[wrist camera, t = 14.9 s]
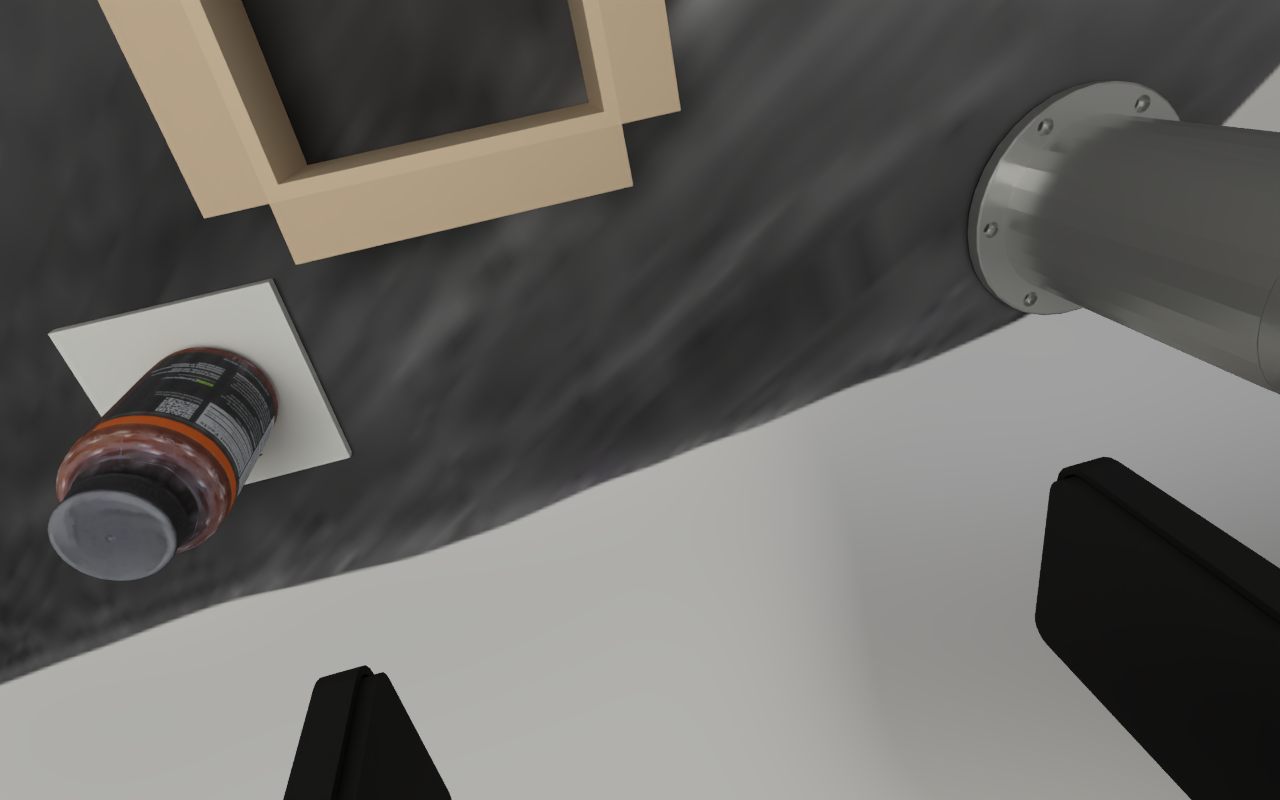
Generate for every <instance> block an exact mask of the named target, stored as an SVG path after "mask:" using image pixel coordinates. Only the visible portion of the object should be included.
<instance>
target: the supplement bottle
mask: <svg viewBox="0 0 1280 800" xmlns="http://www.w3.org/2000/svg"><path fill="white" fill-rule="evenodd" d="M277 415H278V401H277V397H276V394H275V391H274V389H273V387H272V385H271V383H270V381H269V380H268V378H267V377H266V376H265V375H264V374H263V372H262V371H261V370H260V369H259V368H257V367H256V366H255V365H254V364H252V363H251V362H250V361H248V360H246V359H244V358H242V357H240V356H239V355H237V354H234V353H231V352H229V351H225V350H221V349H216V348H208V347H201V348H199V347H195V348H188V349H184V350H180V351H177V352H174V353H172V354H170V355H168V356H166V357H165V358H163V359H162V360H160V361H159V362H158V363H157V364H156V365H154V366H153V367H152V368H151V369H150V370H149V371H147V373H146V374H144V375H143V377H142V378H140V379H139V380H138V381H137V382H136V383H135V384H134V385H133V386H132V387H131V388H130V390H129V391H127V392H126V393H125V394H124V395H123V396H122V397H121V398H120V399H119V400H118V401H117V402H116V403H115V404H114V405H113V406H112V407H111V408H110V409H109V410H108V411H107V412H106V413H105V414H104V415H103V416H102V417H101V418H100V419H99V420H98V421H97V422H96V423H95V424H94V425H93V426H92V427H91V428H90V429H89V430H88V431H87V432H86V433H85V434H84V435H83V436H82V437H81V438H80V439H79V440H78V441H77V442H76V443H75V445H74V446H73V447H72V448H71V449H70V450H69V452H68V453H67V454H66V456H65V458H64V459H63V461H62V463H61V465H60V467H59V470H58V475H57V480H56V493H57V498H58V502H59V505H58V506H57V507H56V508H55V509H54V511H53V512H52V515H51V516H50V520H49V523H48V535H49V540H50V542H51V544H52V546H53V547H54V549H55V551H56V552H57V554H58V555H60V556H61V558H62V559H63V560H64V561H65V562H67V563H68V564H69V565H71V566H72V567H73V568H76V569H77V570H79V571H80V572H83V573H85V574H88V575H91V576H94V577H97V578H101V579H108V580H119V581H122V580H133V579H139V578H143V577H146V576H149V575H152V574H153V573H155V572H157V571H159V570H160V569H161V568H163V567H164V566H165V565H166V564H167V563H168V562H169V561H170V560H171V559H172V557H173V555H174V554H175V553H179V552H183V551H185V550H189V549H191V548H194V547H196V546H197V545H199V544H201V543H203V542H204V541H205V540H207V539H208V538H209V537H210V536H212V534H214V533H215V531H216V530H217V529H218V528H219V526H220V525H221V524H222V522H223V521H224V520H225V518H226V516H227V514H228V513H229V511H230V509H231V507H232V505H233V503H234V502H235V500H236V498H237V497H238V495H239V493H240V491H241V489H242V487H243V486H244V484H245V482H246V480H247V478H248V477H249V474H250V472H251V470H252V468H253V467H254V465H255V463H256V461H257V459H258V457H259V456H261V455H263V454H260V453H261V451H262V450H263V448H264V446H265V444H266V442H267V440H268V438H269V436H270V434H271V432H272V429H273V427H274V425H275V422H276V419H277Z"/></svg>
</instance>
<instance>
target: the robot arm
mask: <svg viewBox="0 0 1280 800" xmlns="http://www.w3.org/2000/svg"><path fill="white" fill-rule="evenodd" d="M968 245H969V255H970V258H971V261H972V264H973V267H974V270H975V273H976V274H977V276H978V278H979V279H980V281H981V283H982V284H983V286H984V287H985V288H986V289H987V290H988V291H989V292H990V293H991V294H992V295H993V296H994V297H995V298H997V299H999V300H1000V301H1002V302H1004V303H1006V304H1007V305H1009V306H1011V307H1013V308H1016V309H1018V310H1020V311H1023V312H1026V313H1033V314H1040V315H1050V314H1062V313H1065V312H1069V311H1073V310H1077V309H1080V308H1082V307H1083V308H1086V309H1088V310H1090V311H1093V312H1095V313H1097V314H1099V315H1101V316H1104V317H1106V318H1108V319H1111V320H1113V321H1115V322H1117V323H1120V324H1122V325H1124V326H1127V327H1128V328H1131V329H1133V330H1135V331H1137V332H1140V333H1142V334H1144V335H1146V336H1149V337H1151V338H1153V339H1155V340H1158V341H1160V342H1162V343H1165V344H1167V345H1169V346H1171V347H1173V348H1176V349H1178V350H1180V351H1182V352H1185V353H1187V354H1189V355H1192V356H1194V357H1196V358H1198V359H1201V360H1203V361H1205V362H1207V363H1209V364H1212V365H1214V366H1216V367H1219V368H1221V369H1223V370H1225V371H1227V372H1230V373H1232V374H1234V375H1236V376H1239V377H1241V378H1243V379H1245V380H1248V381H1250V382H1252V383H1255V384H1257V385H1259V386H1261V387H1264V388H1266V389H1268V390H1271V391H1273V392H1276V393H1278V394H1280V132H1272V131H1262V130H1253V129H1244V128H1236V127H1227V126H1218V125H1209V124H1200V123H1191V122H1182V121H1180V119H1179V116H1178V115H1177V113H1176V112H1175V111H1174V109H1173V108H1172V106H1171V105H1170V103H1169V102H1168V101H1167V100H1166V99H1165V98H1163V97H1162V96H1161V95H1160V94H1158V93H1157V92H1156V91H1155V90H1153V89H1150V88H1148V87H1145V86H1143V85H1141V84H1138V83H1132V82H1123V81H1093V82H1088V83H1084V84H1080V85H1076V86H1073V87H1071V88H1068V89H1066V90H1064V91H1062V92H1059V93H1057V94H1055V95H1053V96H1051V97H1050V98H1048V99H1047V100H1046V101H1044V102H1043V103H1041V104H1040V105H1038V106H1037V107H1035V108H1034V109H1032V110H1031V111H1030V112H1029V113H1028V114H1027V115H1026V116H1025V117H1024V118H1023V119H1021V120H1020V121H1019V122H1018V123H1017V124H1016V125H1015V126H1014V127H1013V128H1012V129H1011V131H1010V132H1009V133H1008V134H1007V136H1006V137H1005V138H1004V139H1003V140H1002V142H1001V143H1000V144H999V145H998V147H997V148H996V150H995V152H994V153H993V155H992V157H991V158H990V160H989V162H988V163H987V165H986V167H985V168H984V171H983V173H982V175H981V178H980V180H979V183H978V185H977V187H976V190H975V193H974V197H973V201H972V205H971V209H970V213H969V223H968ZM1035 622H1036V626H1037V629H1038V631H1039V633H1040V635H1041V637H1042V639H1043V640H1044V641H1045V642H1046V644H1047V645H1048V646H1049V647H1050V648H1051V649H1052V650H1053V651H1054V653H1055V654H1056V655H1057V656H1058V657H1059V658H1060V659H1061V660H1062V661H1063V662H1064V663H1065V664H1066V665H1067V666H1068V667H1069V669H1070V670H1071V671H1072V672H1073V673H1074V674H1075V675H1076V676H1077V677H1078V678H1079V679H1080V680H1081V682H1082V683H1083V684H1084V685H1085V686H1086V687H1087V688H1088V689H1089V690H1090V691H1091V692H1092V693H1093V694H1094V695H1095V696H1096V698H1097V699H1098V700H1099V701H1100V702H1101V703H1102V704H1103V705H1104V706H1105V707H1106V708H1107V709H1108V711H1109V712H1110V713H1111V714H1112V715H1113V716H1114V717H1115V718H1116V719H1117V720H1118V721H1119V722H1120V723H1121V725H1122V726H1123V727H1124V728H1125V729H1126V730H1127V731H1128V732H1129V733H1130V734H1131V735H1132V736H1133V737H1134V738H1135V740H1136V741H1137V742H1138V743H1139V744H1140V745H1141V746H1142V747H1143V748H1144V749H1145V750H1146V751H1147V753H1148V754H1149V755H1150V756H1151V757H1152V758H1153V759H1154V760H1155V761H1156V762H1157V763H1158V764H1159V765H1160V766H1161V767H1162V769H1163V770H1164V771H1165V772H1166V773H1167V774H1168V775H1169V776H1170V777H1171V778H1172V779H1173V780H1174V782H1175V783H1177V785H1178V786H1179V787H1180V788H1181V789H1182V790H1183V791H1184V792H1185V793H1186V794H1187V795H1188V797H1189V798H1190V799H1191V800H1280V568H1278V567H1277V566H1275V565H1274V564H1272V563H1271V562H1269V561H1268V560H1266V559H1265V558H1263V557H1262V556H1260V555H1258V554H1257V553H1256V552H1254V551H1253V550H1251V549H1250V548H1248V547H1246V546H1245V545H1244V544H1242V543H1241V542H1239V541H1238V540H1236V539H1234V538H1233V537H1231V536H1230V535H1228V534H1227V533H1225V532H1224V531H1222V530H1221V529H1219V528H1218V527H1216V526H1215V525H1213V524H1212V523H1210V522H1209V521H1207V520H1206V519H1204V518H1203V517H1201V516H1200V515H1198V514H1196V513H1195V512H1194V511H1192V510H1191V509H1189V508H1188V507H1186V506H1185V505H1183V504H1182V503H1180V502H1179V501H1177V500H1176V499H1174V498H1172V497H1171V496H1170V495H1168V494H1167V493H1165V492H1164V491H1162V490H1161V489H1159V488H1158V487H1156V486H1155V485H1153V484H1152V483H1150V482H1149V481H1147V480H1145V479H1144V478H1142V477H1141V476H1139V475H1138V474H1136V473H1135V472H1133V471H1132V470H1130V469H1129V468H1127V467H1126V466H1124V465H1123V464H1121V463H1120V462H1118V461H1116V460H1114V459H1112V458H1109V457H1102V458H1098V459H1094V460H1091V461H1087V462H1083V463H1080V464H1076V465H1073V466H1069V467H1066V468H1063V469H1062V471H1061V472H1060V473H1059V475H1058V479H1057V481H1056V482H1054V483H1053V484H1052V485H1051V488H1050V494H1049V502H1048V511H1047V519H1046V528H1045V536H1044V545H1043V554H1042V561H1041V570H1040V579H1039V587H1038V595H1037V603H1036V613H1035ZM283 800H451V796H450V794H449V791H448V789H447V788H446V786H445V784H444V782H443V780H442V778H441V776H440V774H439V772H438V771H437V769H436V767H435V765H434V763H433V761H432V759H431V757H430V755H429V754H428V751H427V750H426V748H425V746H424V744H423V742H422V740H421V738H420V736H419V734H418V732H417V731H416V729H415V727H414V725H413V723H412V721H411V719H410V717H409V715H408V714H407V712H406V710H405V708H404V706H403V704H402V702H401V700H400V699H399V696H398V695H397V693H396V691H395V689H394V687H393V685H392V683H391V681H390V679H389V678H388V676H387V675H386V674H385V673H383V672H382V673H378V674H375V675H374V674H373V672H372V671H371V669H370V668H369V667H367V666H366V665H365V666H361V667H357V668H354V669H350V670H346V671H343V672H339V673H336V674H332V675H329V676H325V677H322V678H320V679H319V680H318V681H317V682H316V684H315V686H314V689H313V692H312V696H311V700H310V703H309V707H308V711H307V714H306V718H305V722H304V726H303V729H302V733H301V736H300V740H299V744H298V747H297V751H296V755H295V759H294V762H293V766H292V769H291V773H290V777H289V781H288V785H287V788H286V792H285V795H284V799H283Z"/></svg>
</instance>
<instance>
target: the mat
mask: <svg viewBox="0 0 1280 800" xmlns="http://www.w3.org/2000/svg"><path fill="white" fill-rule="evenodd" d="M48 335H49V337H50V338H51V340H52V341H53V343H54V344H55V346H56V347H57V349H58V351H59V352H60V354H61V355H62V357H63V358H64V360H65V361H66V363H67V364H68V366H69V368H70V369H71V371H72V372H73V374H74V375H75V377H76V378H77V380H78V381H79V383H80V385H81V386H82V388H83V389H84V391H85V392H86V394H87V395H88V397H89V398H90V400H91V402H92V403H93V405H94V406H95V408H96V409H97V411H98V412H99V414H100V415H101V417H102V416H103V415H104V414H105V413H106V412H107V411H108V410H109V409H110V408H111V407H112V406H113V405H114V404H115V403H116V402H117V401H118V400H119V399H120V398H121V397H122V396H123V395H124V394H125V393H126V392H127V391H129V390H130V388H131V387H132V386H133V385H134V384H135V383H136V382H137V381H138V380H139V379H140V378H142V377H143V375H144V374H146V373H147V371H149V370H150V369H151V368H152V367H153V366H154V365H156V364H157V363H158V362H159V361H160V360H162V359H163V358H165V357H166V356H168V355H170V354H172V353H174V352H177V351H180V350H184V349H188V348H195V347H199V348H201V347H208V348H216V349H221V350H225V351H229V352H231V353H234V354H237V355H239V356H240V357H242V358H244V359H246V360H248V361H250V362H251V363H252V364H254V365H255V366H256V367H257V368H259V369H260V370H261V371H262V372H263V374H264V375H265V376H266V377H267V378H268V380H269V381H270V383H271V385H272V387H273V389H274V391H275V394H276V397H277V401H278V415H277V419H276V422H275V425H274V427H273V429H272V432H271V434H270V436H269V438H268V440H267V442H266V444H265V446H264V448H263V450H262V451H261V453H260V454H263V455H261V456H259V457H258V459H257V461H256V463H255V465H254V467H253V468H252V470H251V472H250V474H249V477H248V478H247V480H246V482H245V484H244V485H246V484H249V483H253V482H257V481H261V480H265V479H269V478H273V477H277V476H281V475H284V474H288V473H292V472H296V471H300V470H304V469H308V468H312V467H315V466H319V465H323V464H327V463H331V462H335V461H339V460H343V459H347V458H350V456H351V453H352V451H351V449H350V447H349V444H348V442H347V440H346V438H345V436H344V433H343V431H342V429H341V427H340V425H339V423H338V420H337V418H336V416H335V414H334V412H333V409H332V407H331V405H330V403H329V401H328V399H327V396H326V394H325V392H324V390H323V388H322V386H321V383H320V381H319V379H318V377H317V375H316V372H315V370H314V368H313V366H312V364H311V362H310V359H309V357H308V355H307V353H306V351H305V348H304V346H303V344H302V342H301V340H300V338H299V335H298V333H297V331H296V329H295V327H294V325H293V322H292V320H291V318H290V316H289V314H288V311H287V309H286V307H285V305H284V303H283V301H282V298H281V296H280V294H279V292H278V290H277V288H276V285H275V283H274V281H273V279H272V278H271V279H267V280H263V281H258V282H254V283H250V284H245V285H241V286H237V287H233V288H228V289H224V290H220V291H216V292H211V293H207V294H203V295H199V296H194V297H190V298H186V299H182V300H177V301H173V302H169V303H165V304H160V305H156V306H152V307H147V308H143V309H139V310H135V311H130V312H126V313H122V314H118V315H113V316H109V317H105V318H101V319H96V320H92V321H88V322H84V323H79V324H75V325H71V326H67V327H62V328H58V329H54V330H53V331H51V332H50V333H48Z"/></svg>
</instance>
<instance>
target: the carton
mask: <svg viewBox="0 0 1280 800" xmlns="http://www.w3.org/2000/svg"><path fill="white" fill-rule="evenodd" d="M98 2H99V4H100V6H101V8H102V10H103V12H104V14H105V16H106V18H107V20H108V22H109V24H110V26H111V29H112V31H113V33H114V35H115V37H116V39H117V41H118V43H119V45H120V47H121V49H122V51H123V53H124V55H125V57H126V59H127V61H128V63H129V65H130V67H131V70H132V72H133V74H134V76H135V78H136V80H137V82H138V84H139V86H140V88H141V90H142V92H143V94H144V96H145V98H146V100H147V102H148V104H149V106H150V109H151V111H152V113H153V115H154V117H155V119H156V121H157V123H158V125H159V127H160V129H161V131H162V133H163V135H164V137H165V139H166V141H167V143H168V145H169V148H170V150H171V152H172V154H173V156H174V158H175V160H176V162H177V164H178V166H179V168H180V170H181V172H182V174H183V176H184V178H185V180H186V182H187V184H188V187H189V189H190V191H191V193H192V195H193V197H194V199H195V201H196V203H197V205H198V207H199V209H200V211H201V213H202V215H203V217H204V218H208V217H213V216H217V215H222V214H226V213H230V212H235V211H239V210H244V209H248V208H253V207H257V206H261V205H266V204H270V207H271V209H272V211H273V214H274V216H275V218H276V220H277V223H278V225H279V227H280V230H281V232H282V234H283V236H284V239H285V241H286V243H287V245H288V248H289V250H290V252H291V255H292V257H293V259H294V261H295V264H296V265H297V264H302V263H306V262H310V261H314V260H319V259H323V258H327V257H332V256H336V255H340V254H344V253H349V252H353V251H357V250H361V249H366V248H370V247H374V246H379V245H383V244H387V243H391V242H396V241H400V240H404V239H409V238H413V237H417V236H421V235H426V234H430V233H434V232H438V231H443V230H447V229H451V228H456V227H460V226H464V225H468V224H473V223H477V222H481V221H486V220H490V219H494V218H498V217H503V216H507V215H511V214H515V213H520V212H524V211H528V210H533V209H537V208H541V207H545V206H550V205H554V204H558V203H563V202H567V201H571V200H575V199H580V198H584V197H588V196H592V195H597V194H601V193H605V192H610V191H614V190H618V189H622V188H627V187H631V186H633V182H632V177H631V171H630V166H629V160H628V155H627V150H626V144H625V139H624V134H623V128H622V124H624V123H629V122H633V121H637V120H642V119H646V118H651V117H655V116H659V115H664V114H668V113H673V112H677V111H681V109H680V102H679V95H678V88H677V81H676V75H675V68H674V61H673V54H672V47H671V41H670V34H669V27H668V20H667V13H666V7H665V0H568V4H569V9H570V14H571V19H572V24H573V28H574V33H575V38H576V43H577V48H578V53H579V58H580V63H581V67H582V72H583V77H584V82H585V87H586V92H587V97H588V101H589V103H584V104H580V105H575V106H571V107H567V108H562V109H558V110H553V111H549V112H544V113H540V114H535V115H531V116H526V117H522V118H517V119H513V120H508V121H504V122H499V123H495V124H490V125H486V126H481V127H477V128H472V129H468V130H463V131H459V132H454V133H450V134H445V135H441V136H436V137H432V138H427V139H423V140H418V141H414V142H409V143H405V144H400V145H396V146H391V147H387V148H382V149H378V150H373V151H369V152H364V153H360V154H355V155H351V156H346V157H342V158H337V159H333V160H328V161H324V162H319V163H315V164H310V165H307V163H306V160H305V158H304V155H303V153H302V150H301V148H300V145H299V143H298V140H297V138H296V136H295V133H294V131H293V128H292V126H291V123H290V121H289V118H288V116H287V113H286V111H285V108H284V106H283V103H282V101H281V98H280V96H279V93H278V91H277V88H276V86H275V83H274V81H273V78H272V76H271V73H270V71H269V68H268V66H267V63H266V61H265V58H264V56H263V53H262V51H261V48H260V46H259V43H258V41H257V38H256V36H255V33H254V31H253V28H252V26H251V23H250V21H249V18H248V16H247V13H246V11H245V8H244V6H243V3H242V1H241V0H98Z"/></svg>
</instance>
